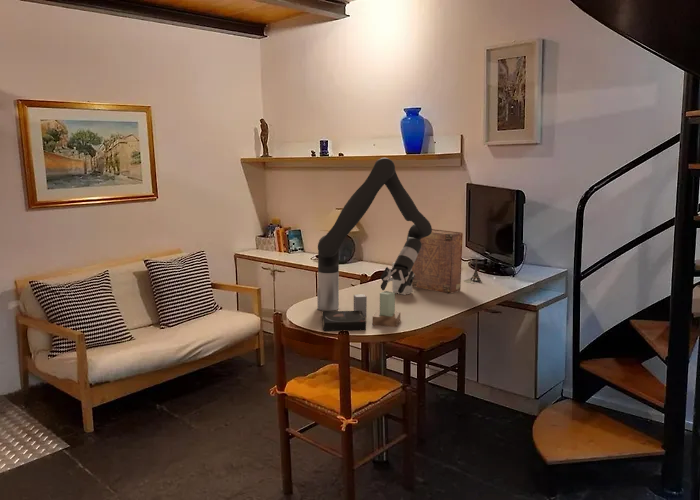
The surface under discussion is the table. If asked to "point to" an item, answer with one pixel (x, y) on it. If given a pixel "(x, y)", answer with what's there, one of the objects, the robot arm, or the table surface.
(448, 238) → the book
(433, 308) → the table surface
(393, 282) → the skincare box
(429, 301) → the table surface
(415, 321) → the table surface
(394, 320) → the walnut plinth
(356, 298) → the grey pillar
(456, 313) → the table surface
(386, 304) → the sage pillar
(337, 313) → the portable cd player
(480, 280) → the eiffel tower figurine
